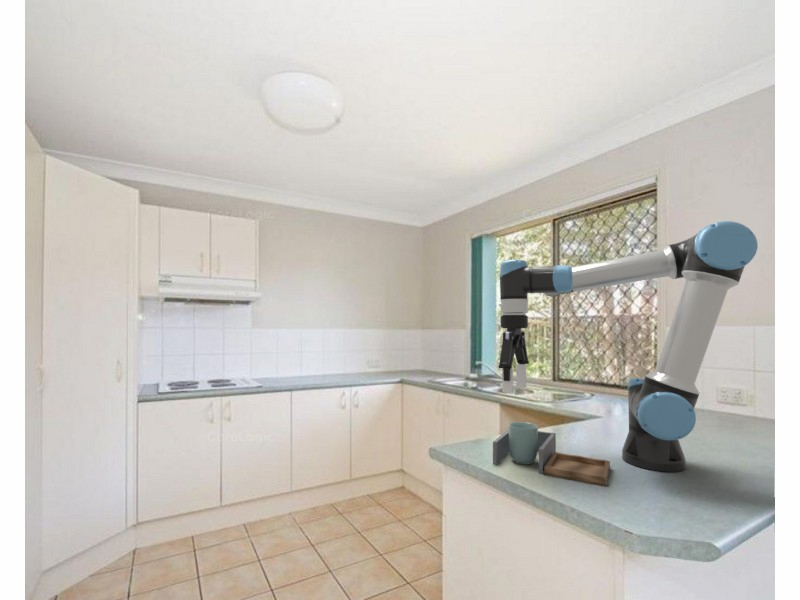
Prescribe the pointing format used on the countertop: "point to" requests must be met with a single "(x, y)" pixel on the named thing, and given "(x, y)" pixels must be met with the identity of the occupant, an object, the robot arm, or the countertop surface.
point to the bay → (544, 448)
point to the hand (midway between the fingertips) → (514, 389)
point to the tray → (578, 468)
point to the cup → (523, 442)
